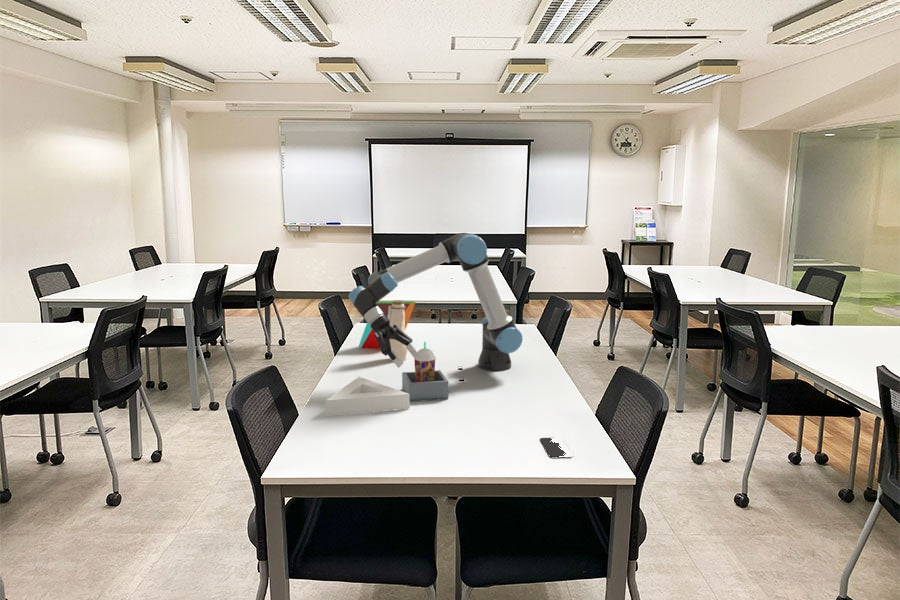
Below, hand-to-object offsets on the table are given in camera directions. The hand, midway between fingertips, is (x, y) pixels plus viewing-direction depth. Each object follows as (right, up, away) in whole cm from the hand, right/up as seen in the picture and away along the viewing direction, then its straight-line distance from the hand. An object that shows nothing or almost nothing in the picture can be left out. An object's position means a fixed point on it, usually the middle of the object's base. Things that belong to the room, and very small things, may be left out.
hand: (409, 361), depth 249 cm
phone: (+49, -22, -51) cm, 74 cm away
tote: (+6, -13, -1) cm, 14 cm away
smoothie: (+6, -12, -1) cm, 13 cm away
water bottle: (-9, -4, +49) cm, 50 cm away
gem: (-16, 0, +72) cm, 74 cm away
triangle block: (-17, -15, -9) cm, 24 cm away
